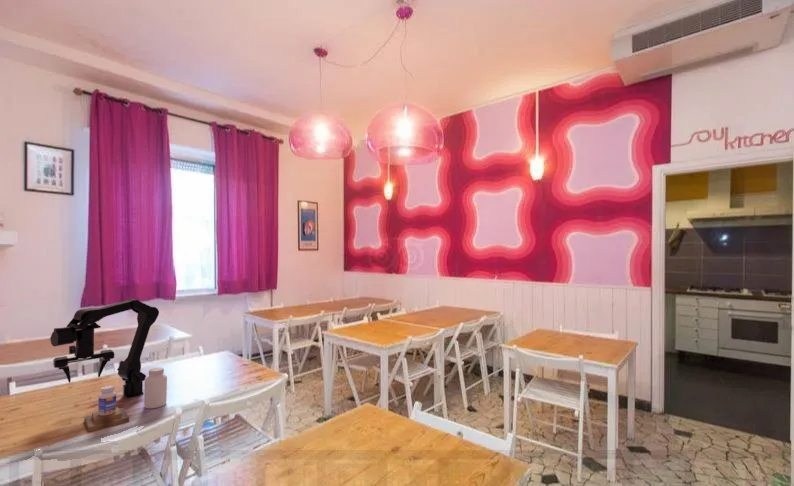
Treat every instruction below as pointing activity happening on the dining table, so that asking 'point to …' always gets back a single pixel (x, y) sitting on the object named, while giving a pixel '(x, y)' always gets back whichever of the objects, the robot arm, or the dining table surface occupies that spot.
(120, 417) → the walnut stand
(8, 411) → the dining table surface
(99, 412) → the pill bottle
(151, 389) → the pill bottle
